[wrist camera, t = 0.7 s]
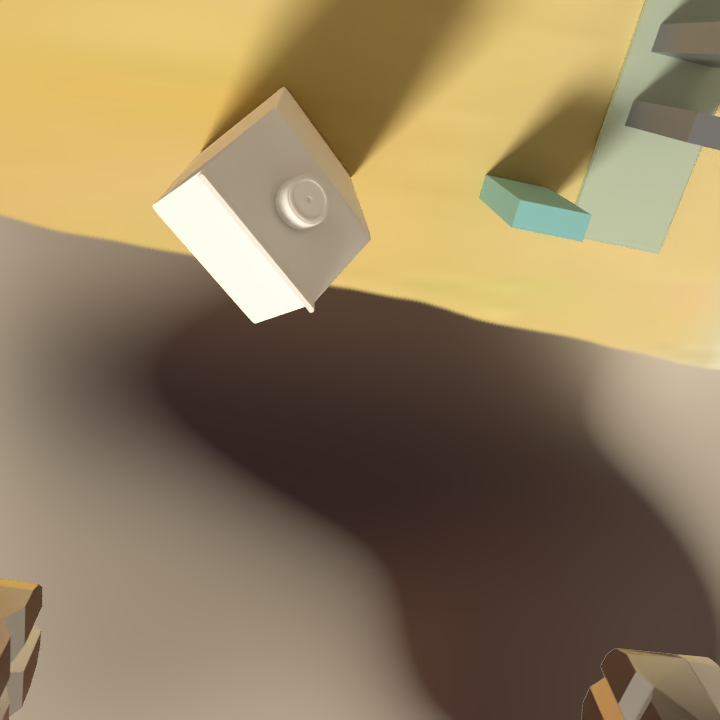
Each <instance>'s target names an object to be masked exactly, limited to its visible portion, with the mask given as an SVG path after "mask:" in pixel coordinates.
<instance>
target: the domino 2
mask: <svg viewBox="0 0 720 720" xmlns="http://www.w3.org/2000/svg"><path fill="white" fill-rule="evenodd" d="M651 52H654V53H658V54H662V55H666V56H669V57H673V58H677V59H681V60H685V61H689V62H693V63H697V64H701V65H705V66H709V67H713V68H720V22H700V23H675V24H661V25H660V28H659V30H658V33H657V36H656V39H655V42H654V44H653V47H652V50H651Z"/></svg>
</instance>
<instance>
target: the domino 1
mask: <svg viewBox="0 0 720 720" xmlns="http://www.w3.org/2000/svg"><path fill="white" fill-rule="evenodd" d="M479 198H480V199H481V200H482V201H483V202H484V203H485V204H486V205H488V206H489V207H490V208H491V209H492V210H493V211H494V212H495V213H496V214H497V215H499V216H500V217H501V218H502V219H503V220H504V221H505V222H506V223H507V224H508V225H510V226H511V227H512V228H517V229H522V230H527V231H532V232H537V233H542V234H547V235H552V236H557V237H562V238H567V239H572V240H576V241H581V242H583V239H584V236H585V233H586V230H587V228H588V225H589V222H590V219H591V216H592V215H591V214H590V213H588V212H586V211H585V210H583V209H581V208H580V207H578V206H576V205H575V204H573V203H572V202H570V201H568V200H567V199H565V198H563V197H562V196H560V195H558V194H557V193H555V192H554V191H552V190H550V189H549V188H547V187H542V186H537V185H533V184H528V183H523V182H519V181H514V180H509V179H505V178H500V177H495V176H491V175H486V176H485V180H484V183H483V187H482V190H481V194H480V197H479Z"/></svg>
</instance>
